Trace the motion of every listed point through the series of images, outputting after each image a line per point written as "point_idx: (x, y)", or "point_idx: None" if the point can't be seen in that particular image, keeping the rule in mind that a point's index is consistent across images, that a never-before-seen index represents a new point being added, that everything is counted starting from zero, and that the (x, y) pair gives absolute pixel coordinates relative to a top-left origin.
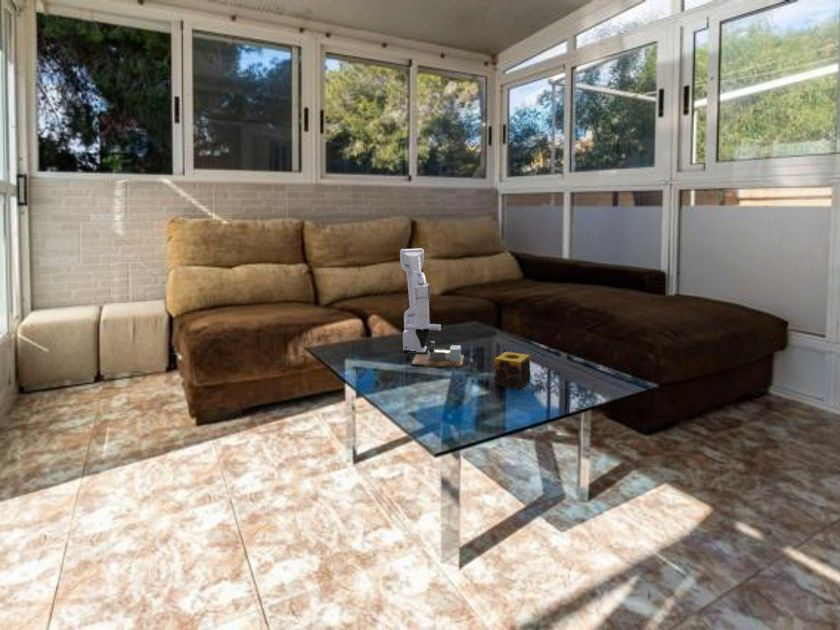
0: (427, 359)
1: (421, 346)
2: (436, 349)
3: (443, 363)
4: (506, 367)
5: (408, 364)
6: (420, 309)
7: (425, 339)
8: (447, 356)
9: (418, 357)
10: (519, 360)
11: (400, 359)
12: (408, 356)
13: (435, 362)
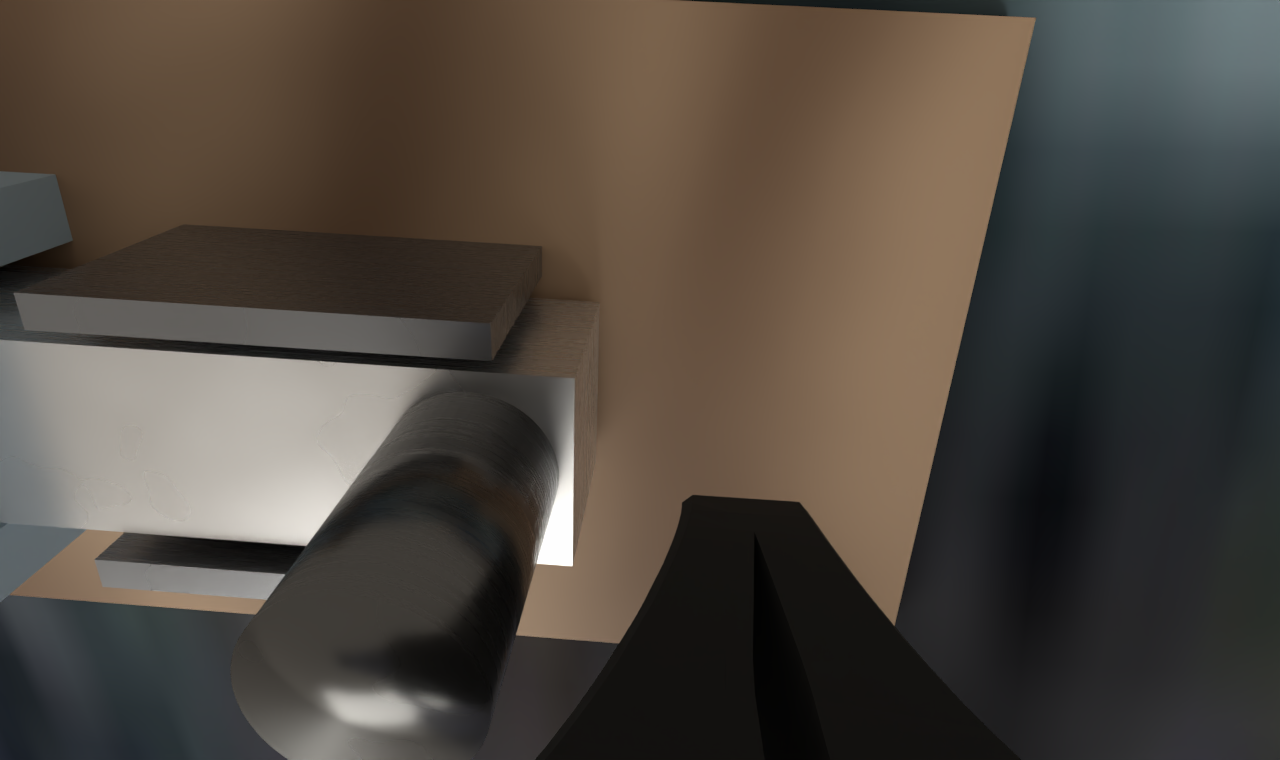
0: (620, 346)
1: (792, 516)
2: None
3: (165, 8)
4: None
5: (1084, 143)
6: None
7: (584, 703)
8: None
9: (834, 489)
10: None
11: (1218, 502)
12: (1021, 659)
13: (390, 98)
